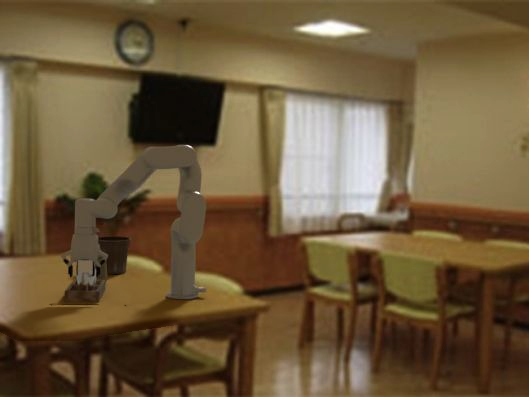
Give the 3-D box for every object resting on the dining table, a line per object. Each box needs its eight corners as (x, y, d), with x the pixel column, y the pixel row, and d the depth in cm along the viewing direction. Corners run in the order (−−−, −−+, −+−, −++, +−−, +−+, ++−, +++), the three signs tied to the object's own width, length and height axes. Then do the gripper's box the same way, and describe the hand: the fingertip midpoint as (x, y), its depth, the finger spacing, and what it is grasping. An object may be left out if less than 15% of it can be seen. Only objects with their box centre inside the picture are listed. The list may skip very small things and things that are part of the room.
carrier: (105, 292, 280) (105, 279, 279) (98, 304, 257) (99, 291, 256) (73, 291, 278) (73, 279, 278) (64, 304, 255) (64, 291, 255)
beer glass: (72, 299, 260) (72, 259, 258) (81, 295, 266) (81, 257, 265) (89, 301, 258) (89, 261, 257) (97, 297, 265) (98, 258, 264)
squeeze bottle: (97, 284, 294) (97, 242, 293) (111, 287, 290) (112, 244, 289) (83, 287, 287) (83, 244, 286) (97, 290, 283) (98, 246, 282)
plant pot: (122, 276, 314) (123, 241, 313) (88, 274, 317) (89, 239, 316) (135, 270, 330) (135, 237, 329) (102, 268, 333) (103, 235, 332)
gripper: (109, 230, 265) (108, 275, 266) (62, 229, 263) (62, 274, 264) (107, 233, 258) (106, 278, 259) (59, 232, 255) (59, 278, 257)
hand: (84, 276), depth 261 cm, fingers open, 9 cm apart
